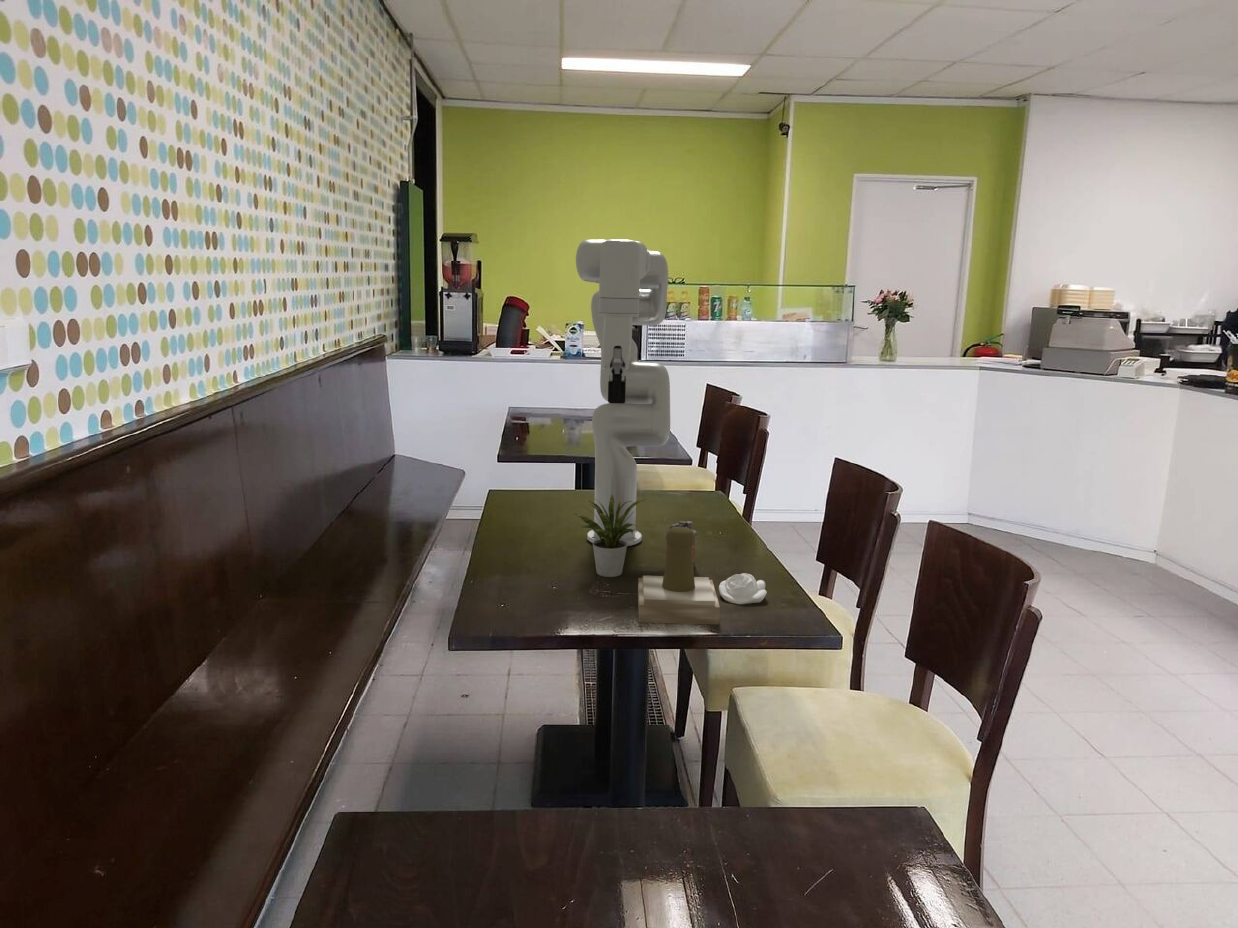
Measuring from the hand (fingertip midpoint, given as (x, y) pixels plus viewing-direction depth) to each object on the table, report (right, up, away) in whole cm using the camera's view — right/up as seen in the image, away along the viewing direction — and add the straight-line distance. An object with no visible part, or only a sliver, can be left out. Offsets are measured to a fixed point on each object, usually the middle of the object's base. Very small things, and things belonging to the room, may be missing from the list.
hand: (616, 399), depth 164 cm
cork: (+11, -35, -6) cm, 37 cm away
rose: (+24, -38, +1) cm, 45 cm away
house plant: (-1, -34, +13) cm, 37 cm away
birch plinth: (+11, -39, -6) cm, 41 cm away
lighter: (+13, -34, +16) cm, 40 cm away
